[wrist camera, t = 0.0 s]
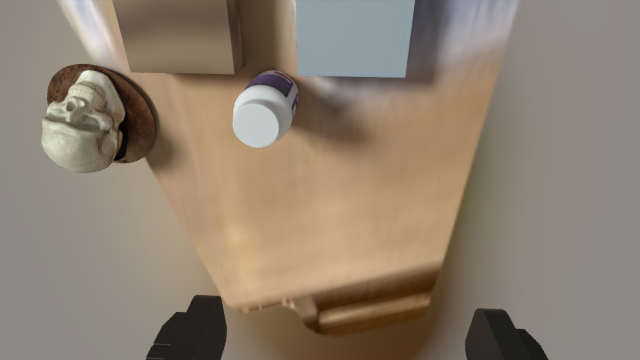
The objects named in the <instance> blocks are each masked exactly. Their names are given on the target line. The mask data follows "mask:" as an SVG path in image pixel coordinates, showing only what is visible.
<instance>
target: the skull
mask: <svg viewBox="0 0 640 360" xmlns="http://www.w3.org/2000/svg"><path fill="white" fill-rule="evenodd" d="M49 95H50V96H49ZM47 100H48V104H49V105H48V110H47V117H45V118H43V120H42V126H43V132H42V137H41V144H42V146H43V149H44V150H45V152H46V154H47V155H48V156H49V157H50V158H51V159H52V160H53V161H54V162H55V163H56V164H58V165H60V166H61V167H64V168H65V169H67V170H70V171H72V172H76V173H89V172H96V171H100V170H103V169H105V168H107V167H108V166H109V165H110V164H111V163H120V164H121V163H122V164H124V163H131V162H134V161H137V160H140V159H141V158H143V157H144V156H145V155H146V154H147V153H148V152H149V151H150V150H151V148H152V146H153V144H154V140H155V123H154V120H153V117H152V113H151V111H150V109H149V107H148V105H147V103H146V102H145V100H144V99H143V98H142V96H141V95H140V94H139V92H138V91H136V90H135V89H134V88H133V87H132V86H131V85H130V84H129V83H128V82H127V81H125V80H124V79H123V78H121V77H120V76H118V75H116V74H115V73H113V72H111V71H109V70H107V69H104V68H102V67H99V66H95V65H90V64H75V65H71V66H67V67H65V68H63V69H61V70H60V71H58V72H57V73H56V74H55V75H54V76H53V78H52V79H51V82H50V84H49V87H48V94H47ZM135 107H136V108H135Z"/></svg>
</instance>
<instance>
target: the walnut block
mask: <svg viewBox="0 0 640 360" xmlns="http://www.w3.org/2000/svg"><path fill="white" fill-rule="evenodd" d="M113 4H114V8H115V12H116V16H117V20H118V23H119V27H120V31H121V35H122V39H123V43H124V47H125V51H126V55H127V59H128V62H129V66H130V70H131V72H142V73H193V74H235V73H237V72H238V71H239V70H240V69H241V68H243V67H244V66H245V65H244V54H243V44H242V33H241V23H240V13H239V2H238V0H113Z"/></svg>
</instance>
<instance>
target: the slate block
mask: <svg viewBox="0 0 640 360" xmlns="http://www.w3.org/2000/svg"><path fill="white" fill-rule="evenodd" d="M414 4H415V0H296V23H297V67H298V76H348V77H400V78H405V75H406V67H407V59H408V51H409V43H410V36H411V28H412V20H413V12H414Z"/></svg>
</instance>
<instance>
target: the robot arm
mask: <svg viewBox="0 0 640 360" xmlns="http://www.w3.org/2000/svg"><path fill="white" fill-rule="evenodd" d="M226 335H227V326H226V320H225V315H224V310H223V305H222V300H221V297H220V296H210V295H209V296H208V295H196V296H194V298H193V299H192V301H191V303H190V306H189V308H188V310H187V312H176V313H175V314H174V315H173V316H172V317H171V318H170V319H169V320H168V321H167V322H166V323H165V324H164V325H163V326H162V328H161V330H160V331H159V333H158V335H157V337H156V339H155V341H154V345H153V346H152V347H151V349H150V351H149V353H148V354H147V357H146V360H221V356H222V353H223V350H224V347H225V342H226ZM465 351H466V357H467V360H548V358H547V356H546V355H545V353H544V351H543V349H542V348H541V346H540V344H539V343H538V342H537V341H536V340H535V339H534V338H533V337H532V336H531V335H530V334H529V333H528V332H527V331H526V330H525V329H516V328H515V327H514V325H513V323H512V321H511V319H510V317H509V315H508V314H507V312H506V311H505V310H502V309H481V308H478V309H476V311H475V313H474V316H473V319H472V322H471V325H470V328H469V331H468V334H467V337H466V341H465Z"/></svg>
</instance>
